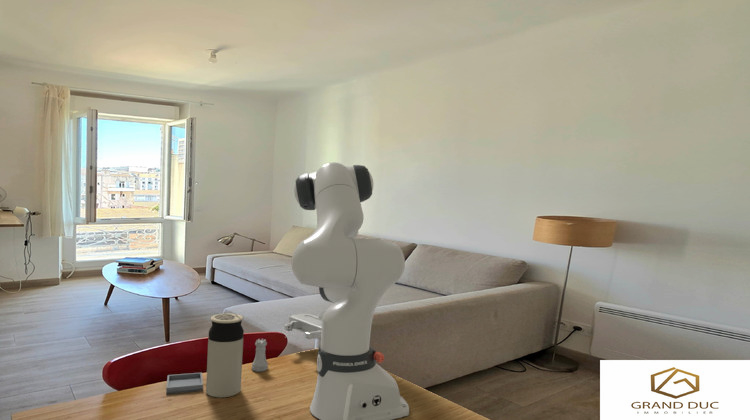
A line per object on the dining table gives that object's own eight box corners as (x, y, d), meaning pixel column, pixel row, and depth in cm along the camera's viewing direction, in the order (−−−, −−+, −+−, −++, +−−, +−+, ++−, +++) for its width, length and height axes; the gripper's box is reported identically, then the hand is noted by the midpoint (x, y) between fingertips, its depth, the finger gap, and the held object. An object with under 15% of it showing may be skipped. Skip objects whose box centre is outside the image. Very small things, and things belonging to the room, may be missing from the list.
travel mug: (206, 400, 110) (210, 322, 109) (205, 386, 117) (208, 313, 117) (242, 396, 113) (246, 320, 112) (238, 383, 120) (242, 312, 120)
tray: (201, 378, 122) (201, 372, 122) (202, 390, 115) (203, 384, 115) (167, 381, 119) (167, 375, 119) (166, 394, 112) (166, 387, 112)
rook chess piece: (270, 367, 132) (272, 338, 132) (263, 373, 128) (265, 343, 128) (256, 365, 133) (257, 336, 133) (248, 371, 129) (249, 341, 129)
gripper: (310, 306, 157) (275, 313, 146) (354, 321, 143) (319, 329, 133) (309, 325, 157) (274, 333, 147) (353, 342, 143) (318, 352, 133)
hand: (296, 331), depth 140 cm, fingers open, 8 cm apart
